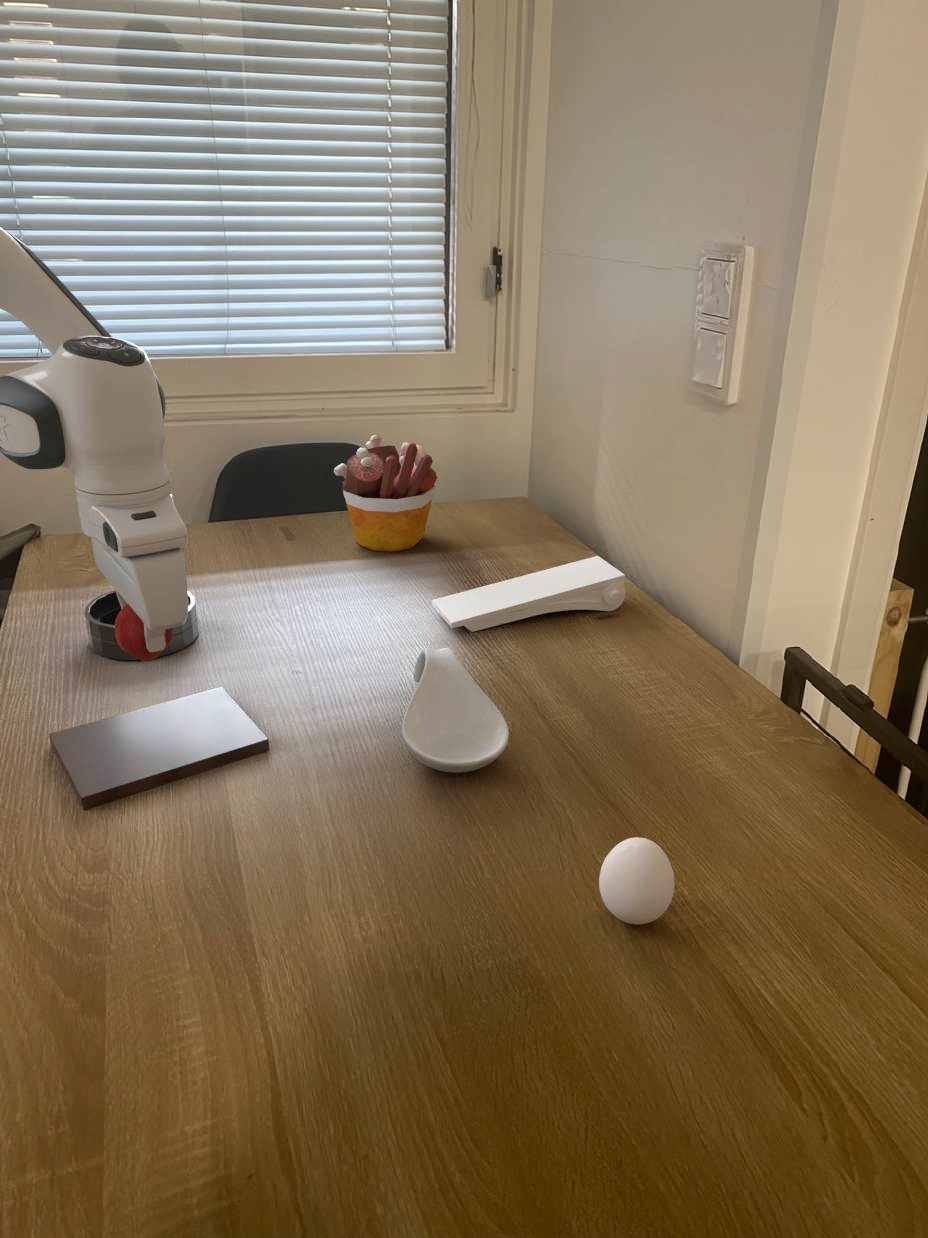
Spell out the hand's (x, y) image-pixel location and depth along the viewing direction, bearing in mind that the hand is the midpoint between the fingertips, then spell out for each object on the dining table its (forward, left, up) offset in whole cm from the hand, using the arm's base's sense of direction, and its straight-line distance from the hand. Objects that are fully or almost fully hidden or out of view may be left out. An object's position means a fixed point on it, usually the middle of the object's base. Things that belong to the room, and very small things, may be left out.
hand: (144, 635), depth 96 cm
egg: (+26, -48, -14) cm, 56 cm away
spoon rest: (+29, -14, -14) cm, 35 cm away
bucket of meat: (+55, +43, -14) cm, 71 cm away
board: (0, 0, -14) cm, 14 cm away
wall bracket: (+58, +7, -14) cm, 60 cm away
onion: (0, 0, -3) cm, 3 cm away
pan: (+7, +28, -14) cm, 32 cm away
